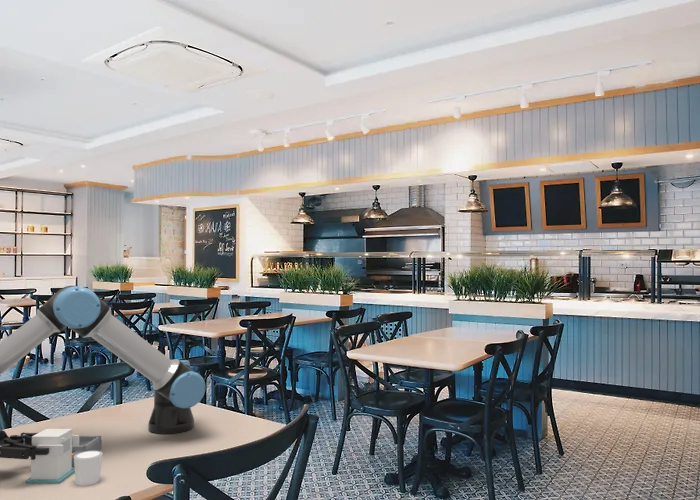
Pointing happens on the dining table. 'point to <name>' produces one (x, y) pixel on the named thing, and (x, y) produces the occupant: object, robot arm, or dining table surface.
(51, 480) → the mat
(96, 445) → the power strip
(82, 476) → the white cup
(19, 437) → the robot arm
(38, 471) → the block
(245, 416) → the dining table surface
